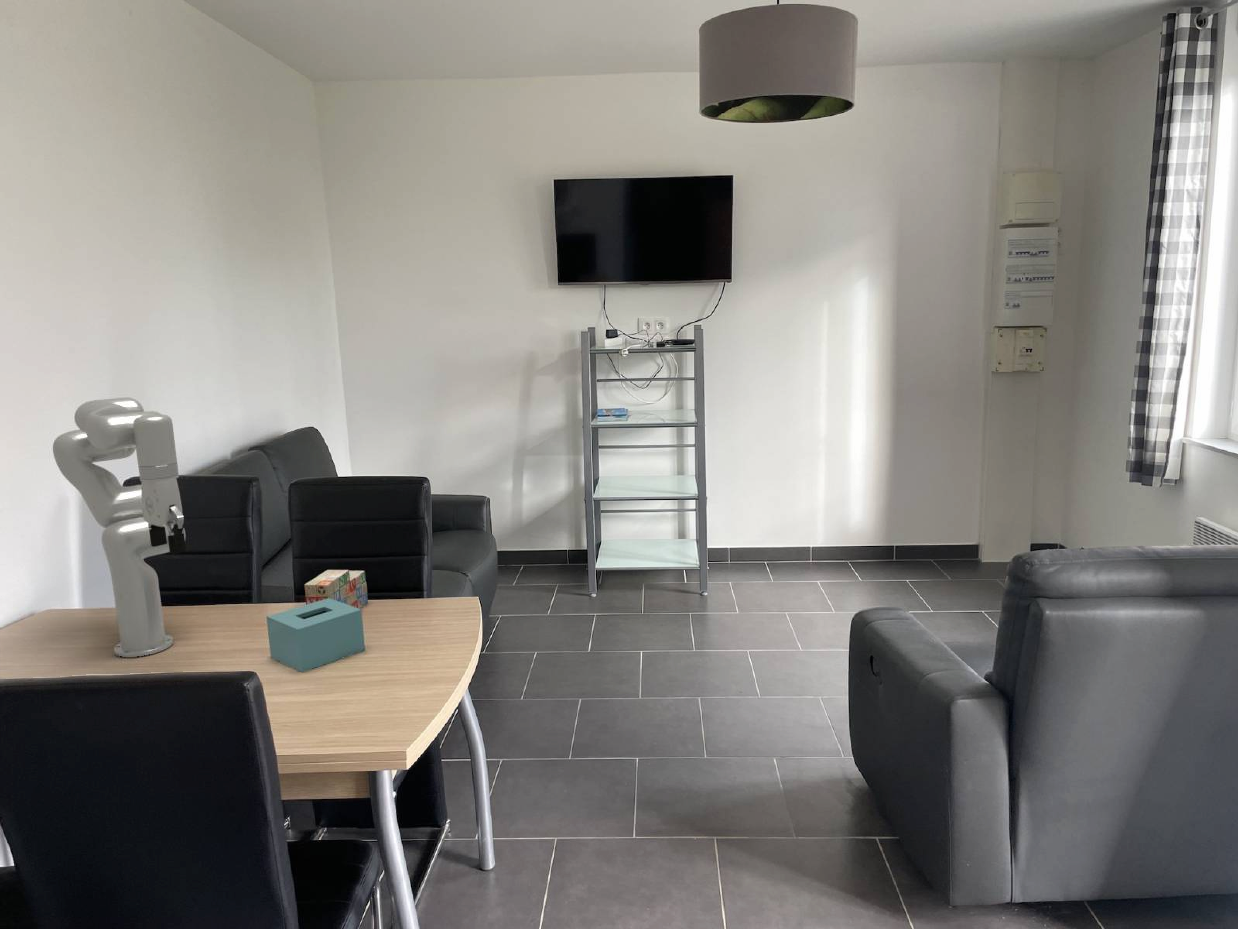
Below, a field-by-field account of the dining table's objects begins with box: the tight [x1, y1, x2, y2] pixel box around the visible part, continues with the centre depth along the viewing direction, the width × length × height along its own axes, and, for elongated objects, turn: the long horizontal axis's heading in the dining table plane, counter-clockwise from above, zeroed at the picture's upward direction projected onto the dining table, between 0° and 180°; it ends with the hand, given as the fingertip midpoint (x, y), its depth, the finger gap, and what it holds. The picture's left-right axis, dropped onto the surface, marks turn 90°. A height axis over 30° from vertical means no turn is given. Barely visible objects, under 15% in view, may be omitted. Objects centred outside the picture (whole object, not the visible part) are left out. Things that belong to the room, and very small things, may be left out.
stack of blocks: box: [304, 569, 369, 609], centre depth 231 cm, size 21×6×12 cm, turn 171°
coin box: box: [266, 598, 366, 673], centre depth 206 cm, size 14×16×10 cm
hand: (168, 548), depth 195 cm, fingers open, 9 cm apart
